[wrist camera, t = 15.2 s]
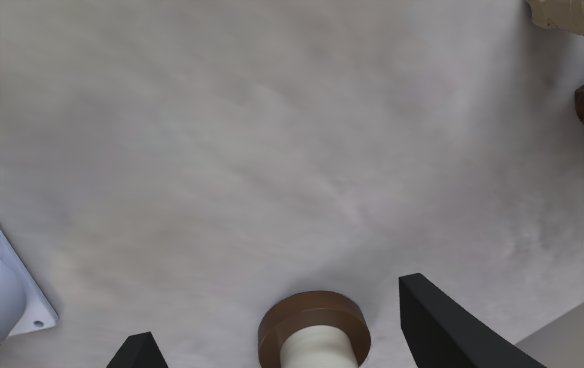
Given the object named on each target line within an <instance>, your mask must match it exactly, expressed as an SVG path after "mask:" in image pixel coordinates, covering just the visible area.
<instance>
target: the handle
mask: <svg viewBox="0 0 584 368" xmlns="http://www.w3.org/2000/svg"><path fill="white" fill-rule="evenodd" d="M526 2H527V3H529V5H530V6H531V9H532V22H533V23H534V24H535V25H537V26H539V27H542V28H547V29H554V28H555V27H559V28H561V29H563V30H565V31H568V32H571V33H575V34H578V35H583V36H584V0H526Z"/></svg>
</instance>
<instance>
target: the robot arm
mask: <svg viewBox="0 0 584 368" xmlns="http://www.w3.org/2000/svg"><path fill="white" fill-rule="evenodd" d="M399 297H400V320H401V329H402V331H403V334H404V336H405V339H406V341H407V344H408V346H409V349H410V351H411V353H412V356H413V358H414V361H415V363H416V365H417V367H418V368H547V367H545V366H544V365H542V364H541V363H539V362H538V361H536V360H535V359H533V358H531V357H530V356H528V355H527V354H525V353H524V352H523V351H521V350H520V349H518V348H517V347H515V346H514V345H512V344H511V343H509V342H508V341H507V340H505V339H504V338H502V337H501V336H500V335H498V334H497V333H495V332H494V331H493V330H491V329H490V328H489V327H487V326H486V325H485V324H483V323H482V322H481V321H479V320H478V319H477V318H475V317H474V316H473V315H471V314H470V313H469V312H468V311H466V310H465V309H464V308H462V307H461V306H460V305H459V304H457V303H456V302H455V301H454V300H452V299H451V298H450V297H449V296H447V295H446V294H445V293H444V292H443V291H441V290H440V289H439V288H438V287H436V286H435V285H434V284H433V283H432V282H430V281H429V280H428V279H427V278H426V277H424V276H423V275H422V274H420V273H416V274H411V275H407V276H402V277H399ZM58 320H59V318H58V315H57V314H56V312H55V311H54V309H53V308H52V306H51V305H50V303H49V302H48V300H47V299H46V297H45V296H44V294H43V293H42V291H41V290H40V288H39V287H38V285H37V284H36V282H35V281H34V279H33V278H32V276H31V275H30V273H29V272H28V270H27V269H26V268H25V266H24V265H23V263H22V262H21V260H20V259H19V257H18V256H17V254H16V253H15V251H14V250H13V248H12V247H11V245H10V244H9V242H8V241H7V239H6V238H5V236H4V235H3V233H2V232H1V230H0V345H1V344H2V342H3V341H4V340H5V338H6V337H10V336H15V335H19V334H24V333H28V332H33V331H37V330H42V329H46V328H51V327H54V326H55V325H56V324H57V322H58ZM40 321H41V322H40ZM106 368H168V366H167V364H166V362H165V360H164V358H163V356H162V354H161V352H160V350H159V348H158V346H157V344H156V342H155V340H154V338H153V336H152V334H151V332H146V333H141V334H137V335H132V336H129V337H128V338H127V339H126V341H125V342H124V343H123V345H122V346H121V347H120V349H119V350H118V352H117V353H116V354H115V356H114V357H113V358H112V360H111V361H110V363H109V364H108V365H107V367H106Z"/></svg>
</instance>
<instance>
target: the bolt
mask: <svg viewBox="0 0 584 368" xmlns="http://www.w3.org/2000/svg"><path fill="white" fill-rule="evenodd" d="M575 111H576V114H577V116H578V118H579V119H580V121H581V122H582V123H583V124H584V85H582V86H581V87H580V88H579V89H577V90H576V91H575Z"/></svg>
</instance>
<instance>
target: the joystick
mask: <svg viewBox="0 0 584 368" xmlns="http://www.w3.org/2000/svg"><path fill="white" fill-rule="evenodd" d="M370 346H371V337H370V332H369V330H368V327H367V325H366V322H365V320H364V317H363V314H362V312H361V310H360V309H359V307H358V306H357V305H356V304H355V303H354V302H353V301H352V300H350V299H349V298H347V297H345V296H343V295H341V294H338V293H334V292H329V291H309V292H303V293H300V294H296V295H293V296H291V297H288V298H286V299H284V300H282V301H281V302H279V303H278V304H276V305H275V306H274V307H273V308H271V309H270V311H269V312H268V313H267V314H266V315H265V317H264V318H263V320H262V322H261V324H260V326H259V329H258V355H259V362H260V365H261V367H262V368H359V367H360V366H361V364H362V363H363V362H364V361H365V359H366V357H367V355H368V353H369V350H370Z"/></svg>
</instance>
